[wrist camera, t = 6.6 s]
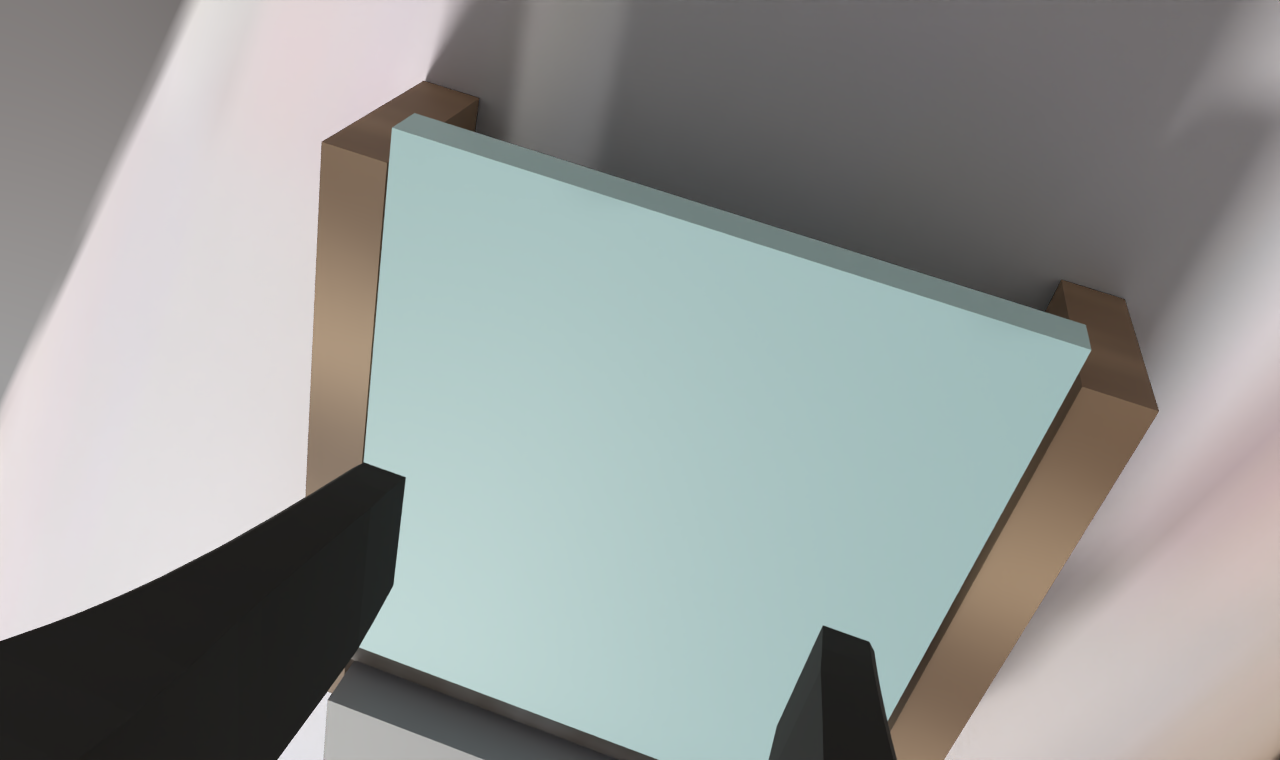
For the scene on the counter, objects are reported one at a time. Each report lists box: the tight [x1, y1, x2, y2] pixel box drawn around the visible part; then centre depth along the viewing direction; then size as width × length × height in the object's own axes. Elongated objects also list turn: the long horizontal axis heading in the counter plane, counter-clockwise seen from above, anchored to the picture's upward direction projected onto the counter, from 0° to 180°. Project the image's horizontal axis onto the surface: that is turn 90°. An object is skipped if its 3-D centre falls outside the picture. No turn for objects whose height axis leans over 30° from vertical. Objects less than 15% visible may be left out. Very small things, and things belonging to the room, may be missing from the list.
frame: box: [306, 81, 1159, 760], centre depth 22 cm, size 14×14×5 cm
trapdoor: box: [323, 113, 1091, 760], centre depth 20 cm, size 17×11×2 cm, turn 167°
